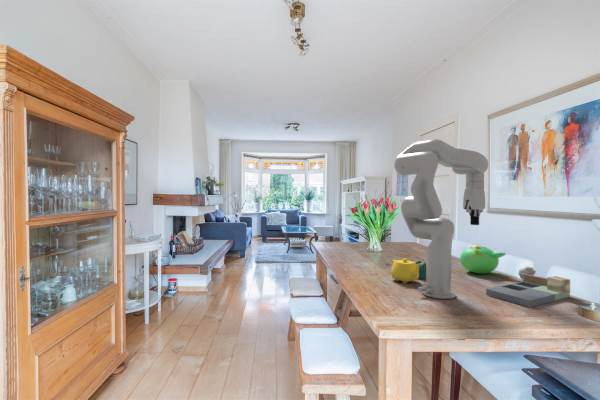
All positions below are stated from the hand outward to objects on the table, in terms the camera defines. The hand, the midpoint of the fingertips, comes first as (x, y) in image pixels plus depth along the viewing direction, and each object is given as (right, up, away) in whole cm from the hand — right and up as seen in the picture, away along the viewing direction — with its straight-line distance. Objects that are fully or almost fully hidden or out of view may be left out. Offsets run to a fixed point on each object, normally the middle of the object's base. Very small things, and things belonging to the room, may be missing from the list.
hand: (474, 224), depth 144 cm
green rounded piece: (+13, -27, +19) cm, 36 cm away
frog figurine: (+26, -27, +3) cm, 38 cm away
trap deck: (+10, -27, -19) cm, 35 cm away
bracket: (-16, -28, +13) cm, 34 cm away
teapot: (-31, -27, +3) cm, 42 cm away
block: (+22, -25, -21) cm, 39 cm away
